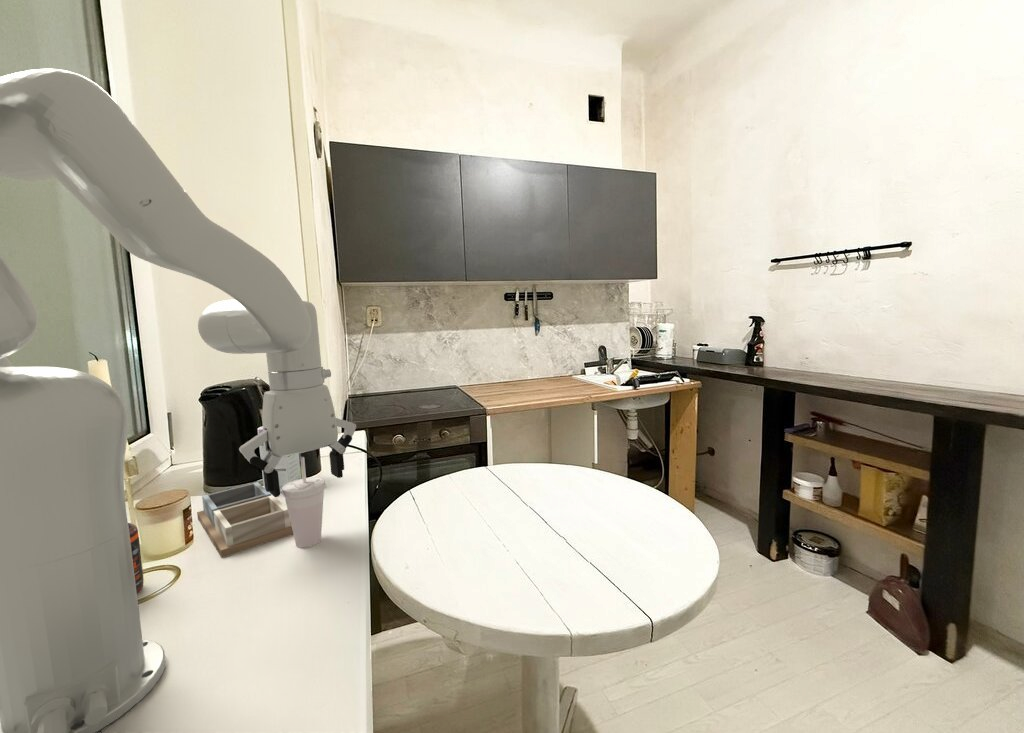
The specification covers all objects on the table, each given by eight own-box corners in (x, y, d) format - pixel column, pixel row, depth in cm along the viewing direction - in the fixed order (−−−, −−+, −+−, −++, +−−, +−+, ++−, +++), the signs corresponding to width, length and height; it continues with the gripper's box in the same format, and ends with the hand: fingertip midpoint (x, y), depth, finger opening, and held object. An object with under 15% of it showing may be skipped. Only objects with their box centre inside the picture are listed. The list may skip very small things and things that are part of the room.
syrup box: (290, 493, 90) (284, 425, 89) (262, 493, 90) (256, 426, 89) (303, 483, 96) (298, 419, 95) (277, 483, 96) (272, 420, 95)
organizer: (297, 531, 73) (295, 508, 72) (221, 557, 65) (218, 531, 65) (263, 500, 87) (261, 480, 86) (197, 518, 79) (195, 496, 79)
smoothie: (331, 529, 73) (325, 450, 72) (327, 547, 67) (321, 461, 66) (290, 536, 71) (283, 454, 70) (282, 555, 65) (274, 466, 64)
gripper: (341, 371, 75) (349, 464, 78) (226, 386, 63) (240, 495, 66) (360, 375, 70) (368, 474, 72) (239, 391, 58) (253, 510, 60)
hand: (307, 484), depth 69 cm, fingers open, 9 cm apart
